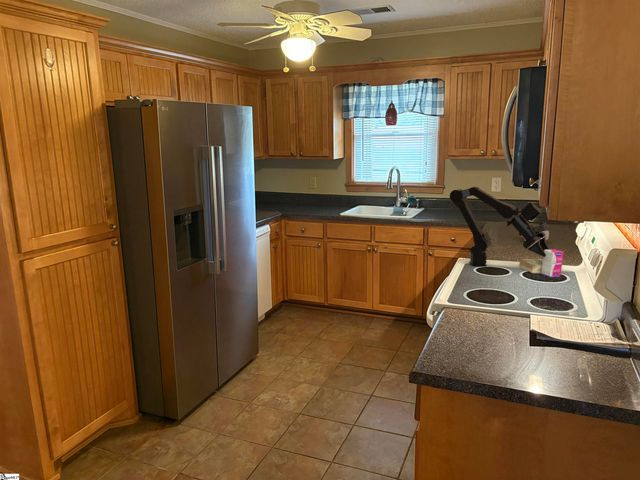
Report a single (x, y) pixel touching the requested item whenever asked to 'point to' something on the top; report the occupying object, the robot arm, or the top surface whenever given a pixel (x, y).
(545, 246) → the robot arm
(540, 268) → the block
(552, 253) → the supplement box
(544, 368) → the top surface
